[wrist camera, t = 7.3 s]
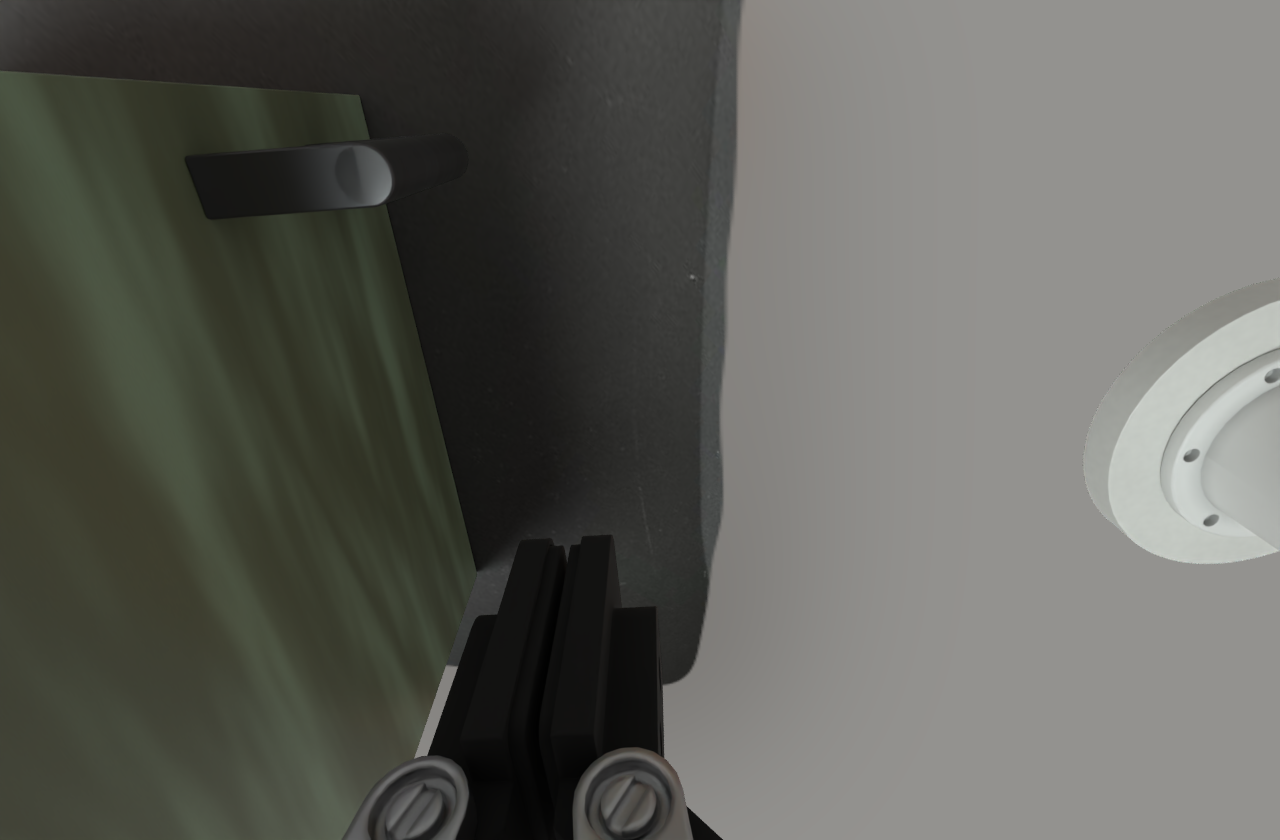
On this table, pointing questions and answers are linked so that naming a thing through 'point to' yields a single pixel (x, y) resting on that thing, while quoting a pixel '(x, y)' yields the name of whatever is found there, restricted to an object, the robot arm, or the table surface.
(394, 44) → the table surface
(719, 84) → the table surface
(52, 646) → the door
